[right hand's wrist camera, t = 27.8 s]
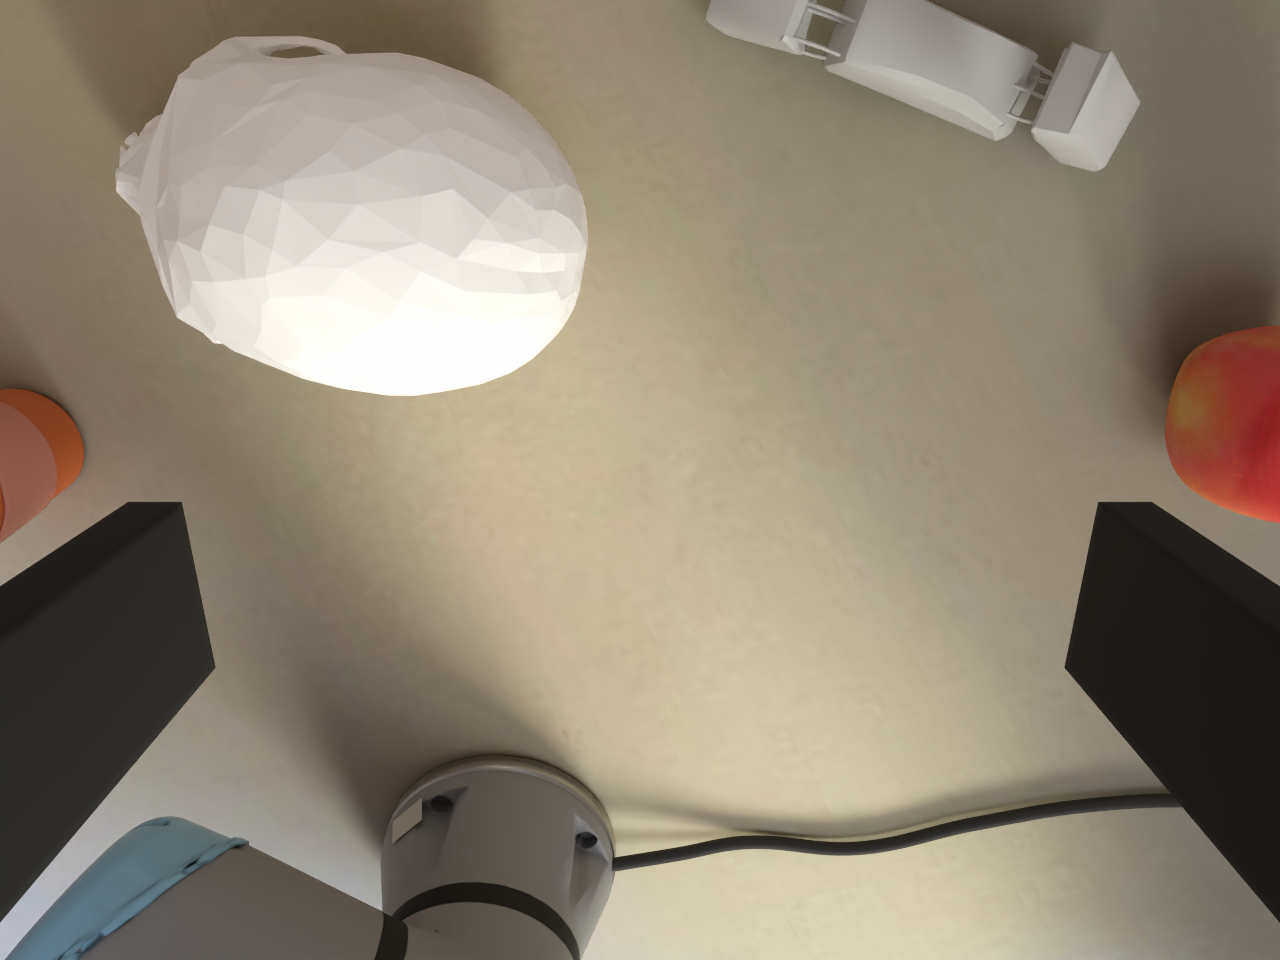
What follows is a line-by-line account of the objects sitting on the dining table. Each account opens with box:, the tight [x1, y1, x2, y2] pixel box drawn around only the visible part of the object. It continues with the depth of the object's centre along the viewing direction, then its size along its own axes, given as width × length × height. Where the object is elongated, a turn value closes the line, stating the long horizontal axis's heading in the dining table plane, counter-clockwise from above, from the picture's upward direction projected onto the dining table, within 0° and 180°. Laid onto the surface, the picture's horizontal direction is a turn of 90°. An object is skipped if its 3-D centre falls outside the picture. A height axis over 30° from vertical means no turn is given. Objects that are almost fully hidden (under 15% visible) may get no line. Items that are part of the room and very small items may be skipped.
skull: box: [115, 36, 588, 396], centre depth 35 cm, size 13×22×16 cm, turn 83°
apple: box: [1165, 326, 1280, 523], centre depth 41 cm, size 10×10×10 cm
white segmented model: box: [706, 0, 1140, 172], centre depth 38 cm, size 20×4×7 cm, turn 71°
